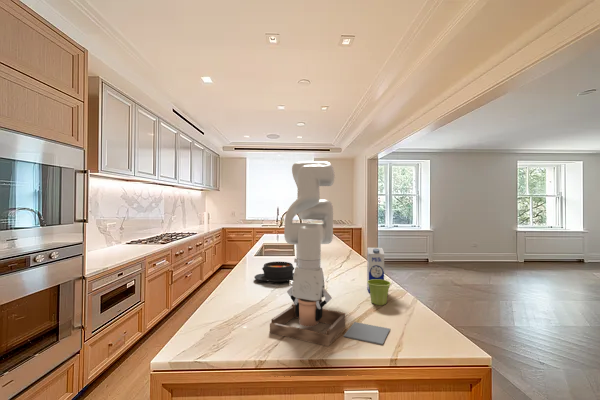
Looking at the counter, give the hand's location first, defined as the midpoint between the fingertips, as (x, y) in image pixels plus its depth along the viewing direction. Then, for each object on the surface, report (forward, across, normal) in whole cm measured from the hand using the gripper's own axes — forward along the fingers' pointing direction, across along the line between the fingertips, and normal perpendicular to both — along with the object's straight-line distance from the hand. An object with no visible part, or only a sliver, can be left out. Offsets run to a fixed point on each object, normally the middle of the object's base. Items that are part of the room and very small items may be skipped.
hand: (308, 317), depth 103 cm
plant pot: (+5, +15, +36) cm, 40 cm away
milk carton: (+5, +10, +52) cm, 54 cm away
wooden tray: (+4, 0, -1) cm, 4 cm away
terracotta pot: (+2, 0, 0) cm, 2 cm away
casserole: (+5, -40, +48) cm, 63 cm away
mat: (+4, +18, +5) cm, 19 cm away
